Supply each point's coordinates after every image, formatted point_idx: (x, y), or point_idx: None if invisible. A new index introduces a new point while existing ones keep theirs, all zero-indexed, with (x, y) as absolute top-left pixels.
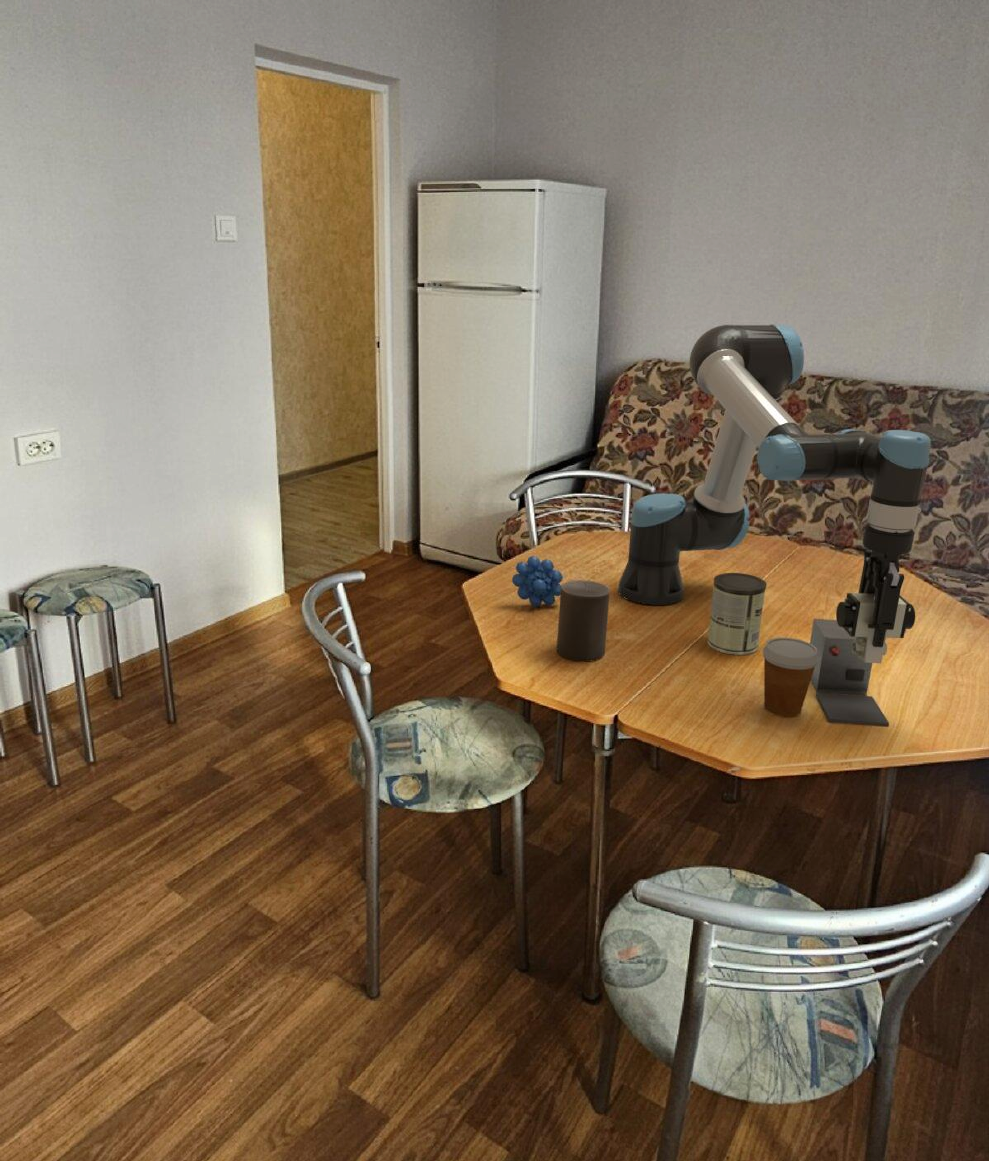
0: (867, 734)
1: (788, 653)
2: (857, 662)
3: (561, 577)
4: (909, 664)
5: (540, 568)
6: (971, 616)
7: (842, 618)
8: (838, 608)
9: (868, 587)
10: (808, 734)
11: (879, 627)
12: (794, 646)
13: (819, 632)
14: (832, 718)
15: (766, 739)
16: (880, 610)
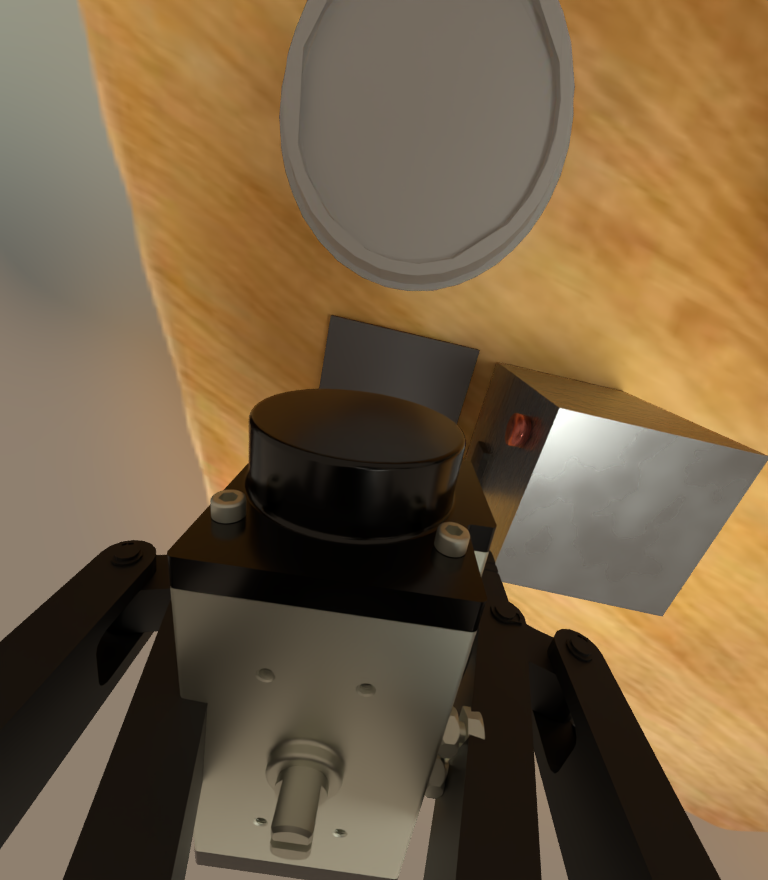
0: (274, 383)
1: (370, 72)
2: (486, 488)
3: None
4: (581, 633)
5: None
6: (739, 825)
7: (312, 404)
8: (428, 436)
9: (456, 830)
10: (268, 221)
11: (106, 552)
12: (457, 163)
13: (643, 424)
14: (333, 325)
15: (233, 55)
16: (21, 656)
